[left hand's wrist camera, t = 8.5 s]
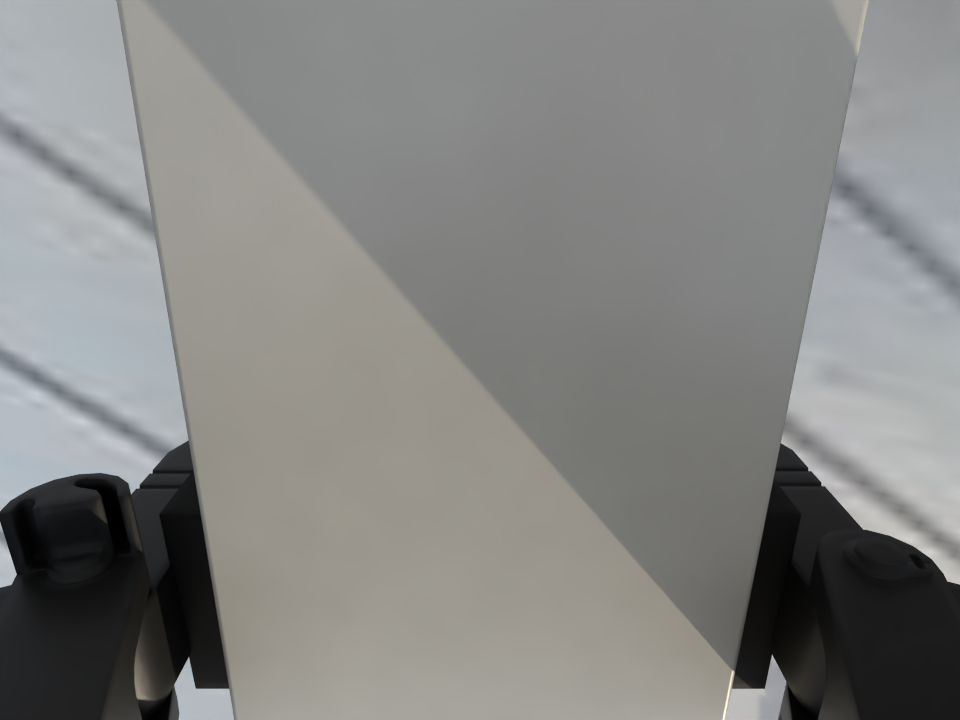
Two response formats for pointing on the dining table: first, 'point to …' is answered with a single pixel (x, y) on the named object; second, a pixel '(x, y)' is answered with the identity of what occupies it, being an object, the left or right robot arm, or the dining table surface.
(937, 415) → the dining table surface
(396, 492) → the beam
